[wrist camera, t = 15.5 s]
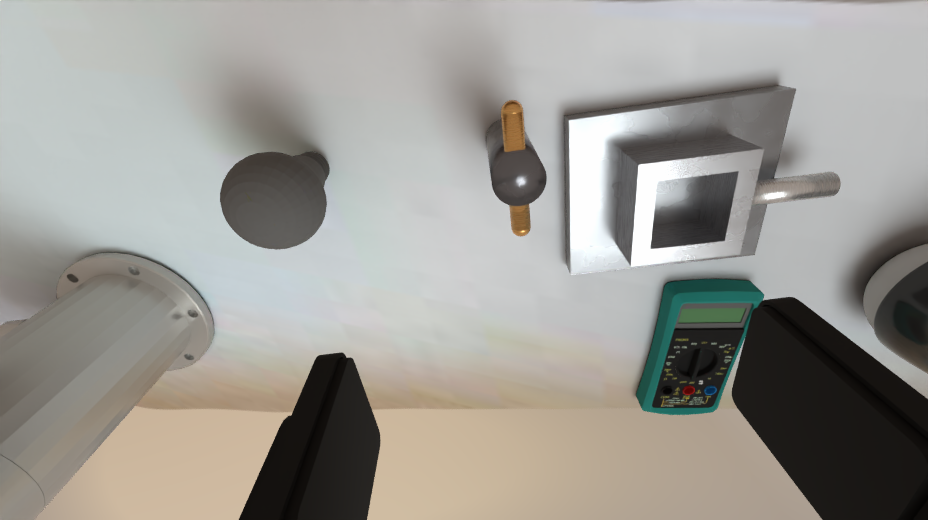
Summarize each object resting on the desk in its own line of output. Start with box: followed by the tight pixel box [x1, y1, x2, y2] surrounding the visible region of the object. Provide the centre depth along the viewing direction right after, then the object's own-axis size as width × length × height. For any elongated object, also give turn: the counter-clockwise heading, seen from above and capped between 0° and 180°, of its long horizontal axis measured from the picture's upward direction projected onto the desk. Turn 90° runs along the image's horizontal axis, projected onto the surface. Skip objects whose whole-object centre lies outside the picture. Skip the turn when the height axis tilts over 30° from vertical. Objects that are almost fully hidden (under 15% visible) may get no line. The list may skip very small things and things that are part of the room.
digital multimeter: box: [636, 279, 764, 415], centre depth 37 cm, size 7×15×3 cm, turn 2°
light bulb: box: [220, 152, 329, 249], centre depth 25 cm, size 6×6×10 cm
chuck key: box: [486, 100, 546, 236], centre depth 25 cm, size 8×3×9 cm, turn 8°
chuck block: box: [564, 86, 840, 275], centre depth 28 cm, size 16×12×5 cm
